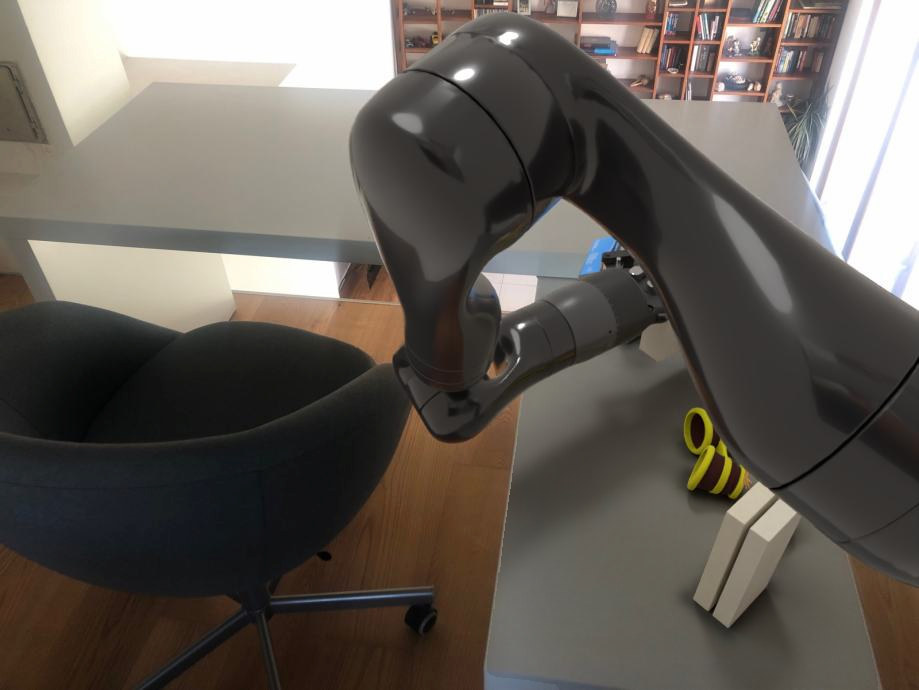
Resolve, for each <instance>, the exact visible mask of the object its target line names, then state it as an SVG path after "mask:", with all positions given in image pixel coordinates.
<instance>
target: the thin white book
mask: <svg viewBox="0 0 919 690" xmlns="http://www.w3.org/2000/svg"><path fill="white" fill-rule="evenodd" d="M640 336H641V337H640V341H639V350H640V351H642V352H643V353H645V354H646V355H648V356H649V357H650V358H652V359H653V360H654V361H655V362H657V363H660V362H662V361H664V360H666V359H667V358H669V357H672V356H673V355H675V354H677V353H680V352H681V350H680V348H679V345H678V342H677V340H676V337H675V335H674V332H673V329H672V327H671V324H670V321H669V320H668V321H666V322H664V323H660V324H652V325H650V326H649V327H647V328H646V329H645V330H644V331H643V332H642V334H641V335H640Z"/></svg>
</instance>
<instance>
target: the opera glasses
mask: <svg viewBox="0 0 919 690" xmlns="http://www.w3.org/2000/svg"><path fill="white" fill-rule="evenodd" d="M683 437H684V441H685V445H686V447H687V448H688V450H689V451H690V452H691V453H692V454H694V455H699V457H698V459H697V461H696V463H695V465H694V468H693V470H692V471H691V474H690V476H689V479H688V481H687V485H686V488H687V489H688V490H689V491H694V490H695V489H700V490H704V491H705V490H706V491H708V493H711V494H716V495H718V494H721V495H722V496H724V495H727V496H728V498H730V499H732V500H735V499H737V498H738V497H739V496H740V494H741V493H742V490H743V489H744V488H743V479H744V476H745V469H744V468H743V467H742V466H741V465H740V464H738V462H737V461H732V458H731V457H729V456H728V453H730V452H729V451H728V449H727V448H726V447H725V445H724V444H723V442H722V441H721V439H720V437H719V436H718V434H717V432H716V431H715V429H714V427H713V425H712V423H711V421H710V419H709V417H708V415H707V413H706V411H705V409H704V408H702V407H693V408H691V409H690V410H688V412H687V413H686V415H685V418H684V422H683Z"/></svg>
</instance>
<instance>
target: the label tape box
mask: <svg viewBox="0 0 919 690" xmlns="http://www.w3.org/2000/svg"><path fill="white" fill-rule="evenodd" d="M619 250H622V246H621V245H620V244H619V243H617V242H616V241H615V240H614V239H613V238H612V237H611V236H608V237H600V238H595V239H594V240H593V242H592V244H591V246H590V249H589V251H588V253H587V255H586V258H585V260H584V262H583V265H582V267H581V269H580V271H579V274H578V275H577V281H578V280H580V279H583V278H585V277H587V276H590V275H592V274H594V273H597V272H599V271H600V264H601V258H602V253H604V252H611V251H619Z"/></svg>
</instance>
